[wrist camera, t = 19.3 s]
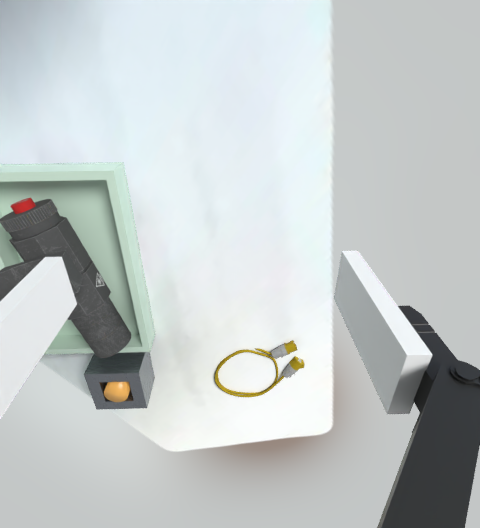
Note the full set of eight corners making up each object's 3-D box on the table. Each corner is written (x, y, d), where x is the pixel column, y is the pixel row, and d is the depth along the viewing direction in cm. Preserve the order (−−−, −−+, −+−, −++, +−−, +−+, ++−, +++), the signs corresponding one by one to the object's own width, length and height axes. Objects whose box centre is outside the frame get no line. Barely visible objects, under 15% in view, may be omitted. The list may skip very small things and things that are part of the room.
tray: (-22, 164, 39) (-45, 173, 35) (123, 162, 39) (113, 170, 36) (48, 337, 52) (35, 354, 49) (155, 334, 53) (150, 351, 49)
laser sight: (90, 335, 51) (62, 389, 43) (-1, 204, 40) (-64, 239, 32) (148, 321, 50) (131, 373, 41) (71, 181, 39) (25, 212, 31)
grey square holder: (98, 345, 53) (84, 374, 48) (147, 343, 53) (138, 372, 48) (108, 379, 57) (96, 409, 52) (154, 377, 57) (147, 407, 52)
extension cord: (305, 386, 60) (307, 395, 59) (220, 395, 61) (220, 405, 59) (301, 336, 54) (304, 345, 52) (207, 348, 55) (207, 357, 53)
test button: (111, 361, 53) (101, 386, 49) (134, 360, 53) (125, 386, 49) (116, 376, 55) (106, 402, 51) (137, 376, 55) (130, 401, 51)
